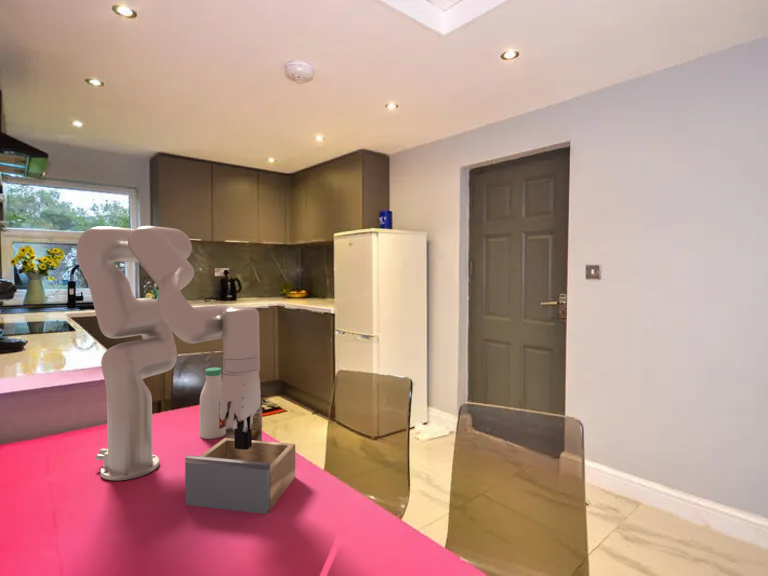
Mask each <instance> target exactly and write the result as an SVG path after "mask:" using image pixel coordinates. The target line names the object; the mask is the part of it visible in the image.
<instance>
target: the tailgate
mask: <svg viewBox="0 0 768 576" xmlns="http://www.w3.org/2000/svg"><path fill="white" fill-rule="evenodd" d="M184 458H185V459H184V460H185V461H184V463H185V465H184V466H185V467H184V470H185V471H184V475H185V478H184V481H185V482H184V483H185V485H184V486H185V494H184V495H185V499H184V500H185V501H184V502H185V506H190V507H191V506H192V507H198V508H199V507H201V508H207V509H208V508H210V509H217V510H225V511H226V510H227V511H235V512H244V513H252V514H262V515H268V514H269V512H270V511H271V510H270V463H267V462H256V461H245V460H235V459H224V458H213V457H203V456H201V455H200V456H199V455H187V456H186V457H184Z"/></svg>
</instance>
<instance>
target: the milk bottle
mask: <svg viewBox="0 0 768 576" xmlns="http://www.w3.org/2000/svg"><path fill="white" fill-rule="evenodd" d="M204 371H205V373H204V375H205V376H204V377H205V383H204V385H203V387H202V390H201V392H200V396H199V436H200V438H201V439H205V440H214V439H219V438H223V437H224V436H226V420H225V421H222V420H221V418H220V398H221V385H222V377H223V375H222V373H223V370H222V368H221V367H209V368H206V369H205V370H204Z"/></svg>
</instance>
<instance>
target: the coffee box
mask: <svg viewBox="0 0 768 576" xmlns="http://www.w3.org/2000/svg"><path fill="white" fill-rule="evenodd" d="M260 391H261V403H260V408H259V409H258V410H257V411H256V414H255V415H254V416H253V425H252V428H250V429H252V440H255V441H263V389H262V388H260ZM225 438H231V439H235V437H234V431H233V429H228V419H227V420H226V435H225Z"/></svg>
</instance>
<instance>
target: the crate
mask: <svg viewBox="0 0 768 576" xmlns="http://www.w3.org/2000/svg"><path fill="white" fill-rule="evenodd" d="M200 456H203V457H213V458H224V459H235V460H245V461H256V462H267V463H270V511H271V510H272V508H273V507H274V506H275V504H276V503H277V502H278V501H279V499H280V498H281V496H283V494H284V493H285V491H286V490H288V489H287V488H289V486H290V485H291V484H292V482H293V481H294V480H295V479H296V443H288V442H287V443H286V442H277V441H276V442H274V441H267V440H265V441H263V440H262V441H255V440H252V446H251V447H250V448H249V449H248V450H244V449H235V439H231V438H226V437H224V438H223V439H221V440H220V441H219V442H217V443H216V444H214V445H213V446H212V447H210V448H209V449H207V450H206V451H205V452H204V453H202V454H201V455H200Z"/></svg>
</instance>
